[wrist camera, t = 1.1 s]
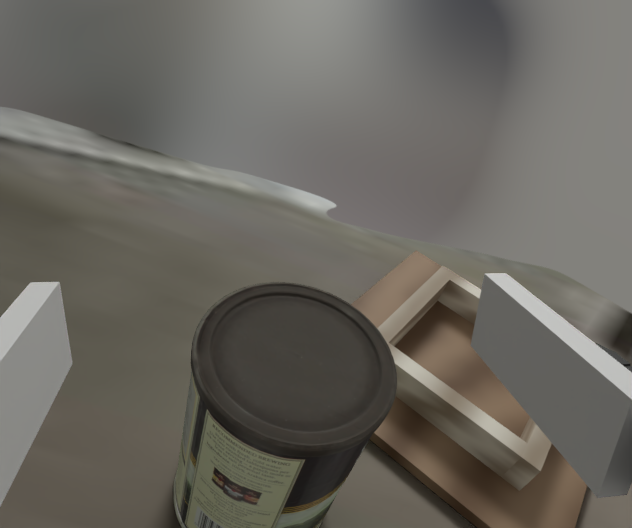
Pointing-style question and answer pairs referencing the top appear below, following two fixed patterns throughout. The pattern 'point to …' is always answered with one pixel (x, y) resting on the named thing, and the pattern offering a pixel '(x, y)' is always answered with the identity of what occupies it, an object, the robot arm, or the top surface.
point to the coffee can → (278, 407)
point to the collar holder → (462, 408)
